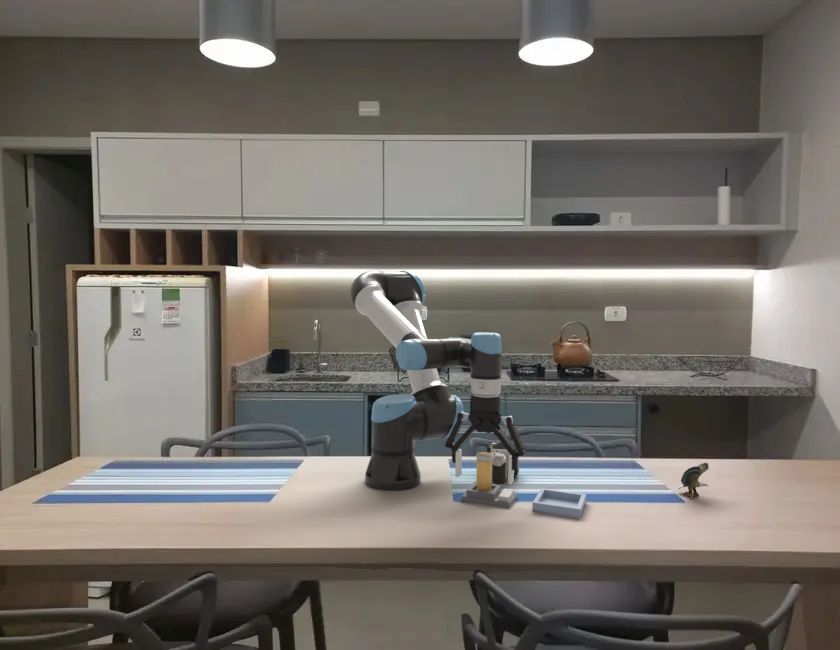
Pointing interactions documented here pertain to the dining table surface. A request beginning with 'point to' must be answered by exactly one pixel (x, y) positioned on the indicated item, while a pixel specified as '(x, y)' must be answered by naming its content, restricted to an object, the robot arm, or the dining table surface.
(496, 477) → the camera
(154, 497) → the dining table surface
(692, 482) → the eagle figurine
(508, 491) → the fuse block
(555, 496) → the parts tray
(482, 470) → the fuse
